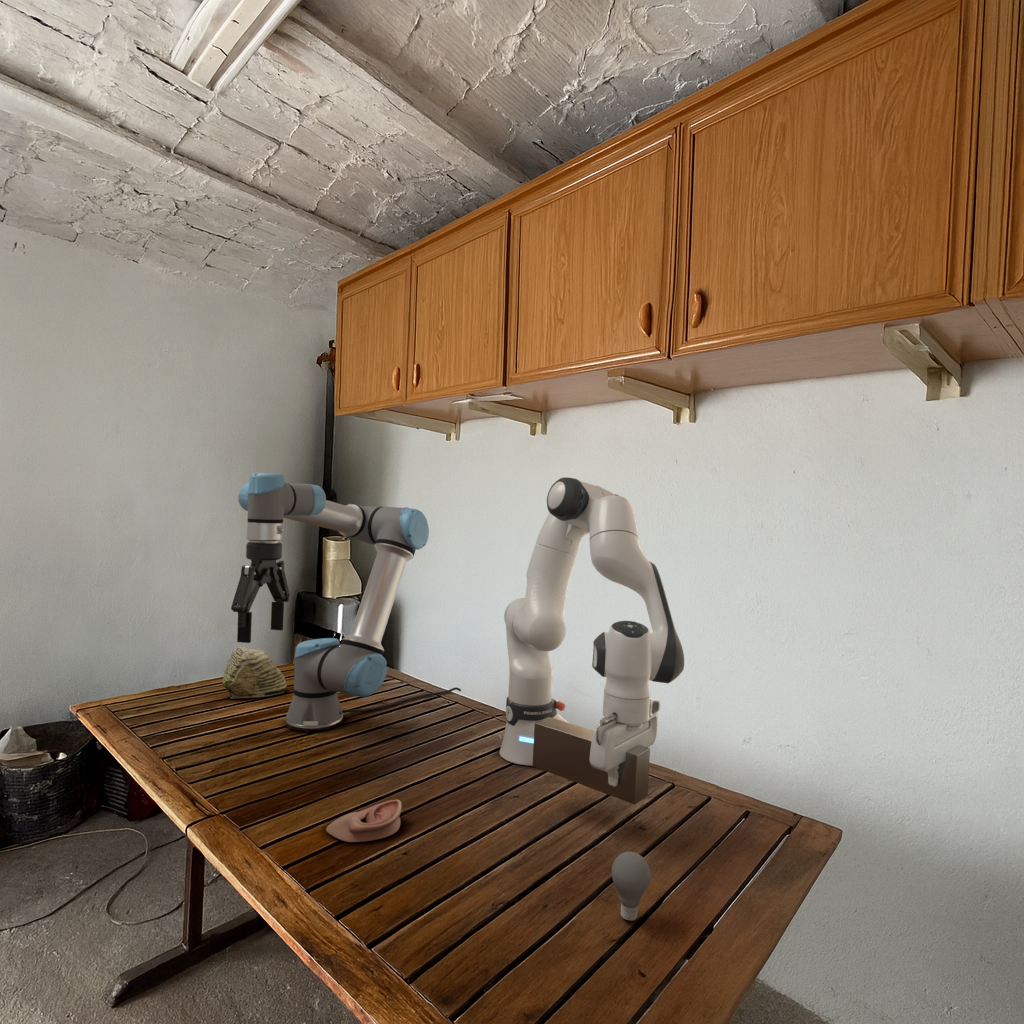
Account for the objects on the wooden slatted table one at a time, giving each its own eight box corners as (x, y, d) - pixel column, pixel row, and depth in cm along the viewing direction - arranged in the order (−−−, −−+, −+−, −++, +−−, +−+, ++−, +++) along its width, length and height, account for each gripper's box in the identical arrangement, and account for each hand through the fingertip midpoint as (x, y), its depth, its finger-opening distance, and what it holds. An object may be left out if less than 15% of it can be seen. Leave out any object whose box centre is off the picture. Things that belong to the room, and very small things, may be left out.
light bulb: (605, 905, 101) (608, 843, 101) (642, 905, 102) (645, 843, 102) (614, 931, 95) (617, 865, 95) (653, 930, 96) (656, 865, 96)
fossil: (218, 695, 195) (220, 647, 195) (278, 685, 208) (279, 640, 207) (228, 703, 189) (230, 653, 188) (289, 692, 201) (290, 645, 201)
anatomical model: (318, 816, 117) (346, 789, 129) (317, 837, 118) (346, 808, 129) (385, 827, 115) (408, 798, 126) (384, 848, 115) (407, 818, 126)
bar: (532, 766, 132) (534, 722, 132) (546, 759, 136) (548, 716, 136) (634, 804, 117) (637, 755, 117) (647, 795, 121) (650, 747, 121)
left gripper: (248, 546, 129) (245, 649, 130) (306, 539, 154) (303, 626, 154) (215, 544, 130) (211, 646, 131) (277, 537, 155) (274, 624, 155)
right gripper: (613, 725, 112) (609, 803, 112) (664, 700, 128) (661, 768, 128) (583, 716, 116) (579, 791, 116) (636, 693, 132) (633, 759, 132)
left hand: (261, 635), depth 143 cm, fingers open, 13 cm apart
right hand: (622, 779), depth 122 cm, fingers closed on bar, 5 cm apart
